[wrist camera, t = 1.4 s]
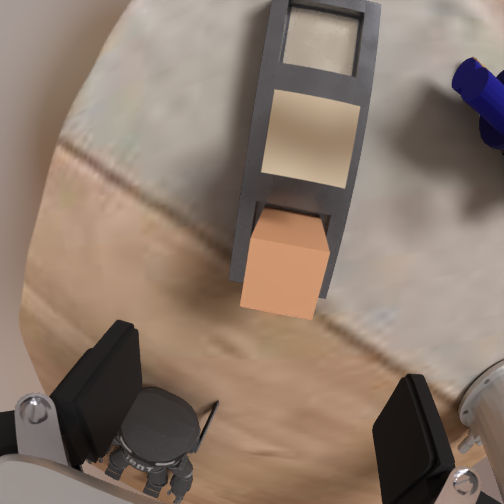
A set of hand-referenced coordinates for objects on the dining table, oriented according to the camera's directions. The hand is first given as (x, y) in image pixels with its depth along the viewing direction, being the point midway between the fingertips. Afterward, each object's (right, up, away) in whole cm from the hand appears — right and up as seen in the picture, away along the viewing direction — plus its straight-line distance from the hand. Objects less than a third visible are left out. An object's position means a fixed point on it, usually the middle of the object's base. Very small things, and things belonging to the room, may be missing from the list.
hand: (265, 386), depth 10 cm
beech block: (+4, +13, +12) cm, 18 cm away
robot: (-15, -23, +31) cm, 41 cm away
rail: (+4, +13, +14) cm, 19 cm away
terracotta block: (+2, +6, +15) cm, 17 cm away
